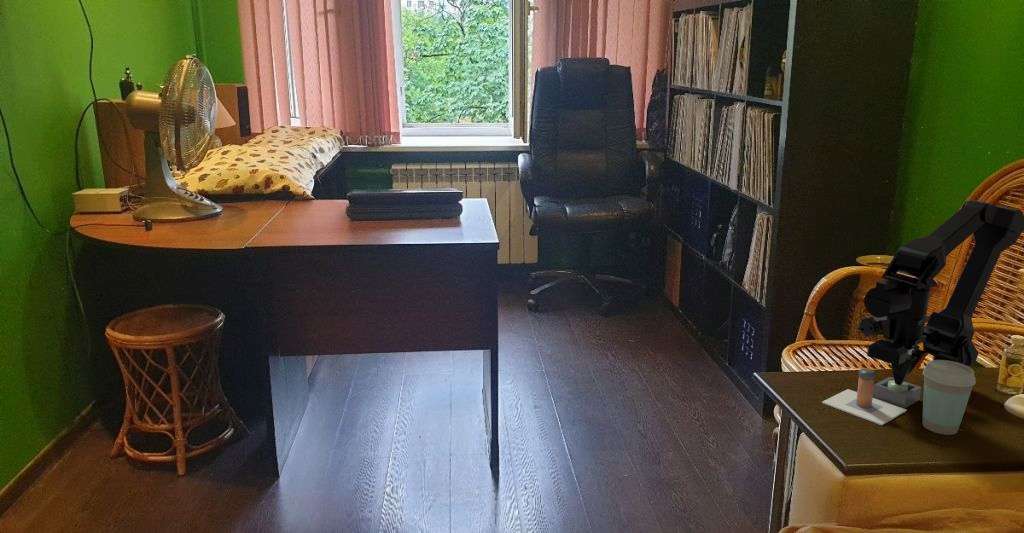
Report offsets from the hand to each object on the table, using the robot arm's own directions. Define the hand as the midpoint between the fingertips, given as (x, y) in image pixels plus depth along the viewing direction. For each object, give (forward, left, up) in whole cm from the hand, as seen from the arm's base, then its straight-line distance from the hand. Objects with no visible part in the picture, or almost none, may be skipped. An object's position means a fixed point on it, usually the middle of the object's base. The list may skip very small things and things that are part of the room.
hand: (898, 383), depth 154 cm
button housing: (0, 0, -3) cm, 3 cm away
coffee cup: (+6, +11, -3) cm, 13 cm away
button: (0, 0, -2) cm, 2 cm away
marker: (+9, -2, -3) cm, 10 cm away
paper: (+9, -2, -3) cm, 10 cm away
